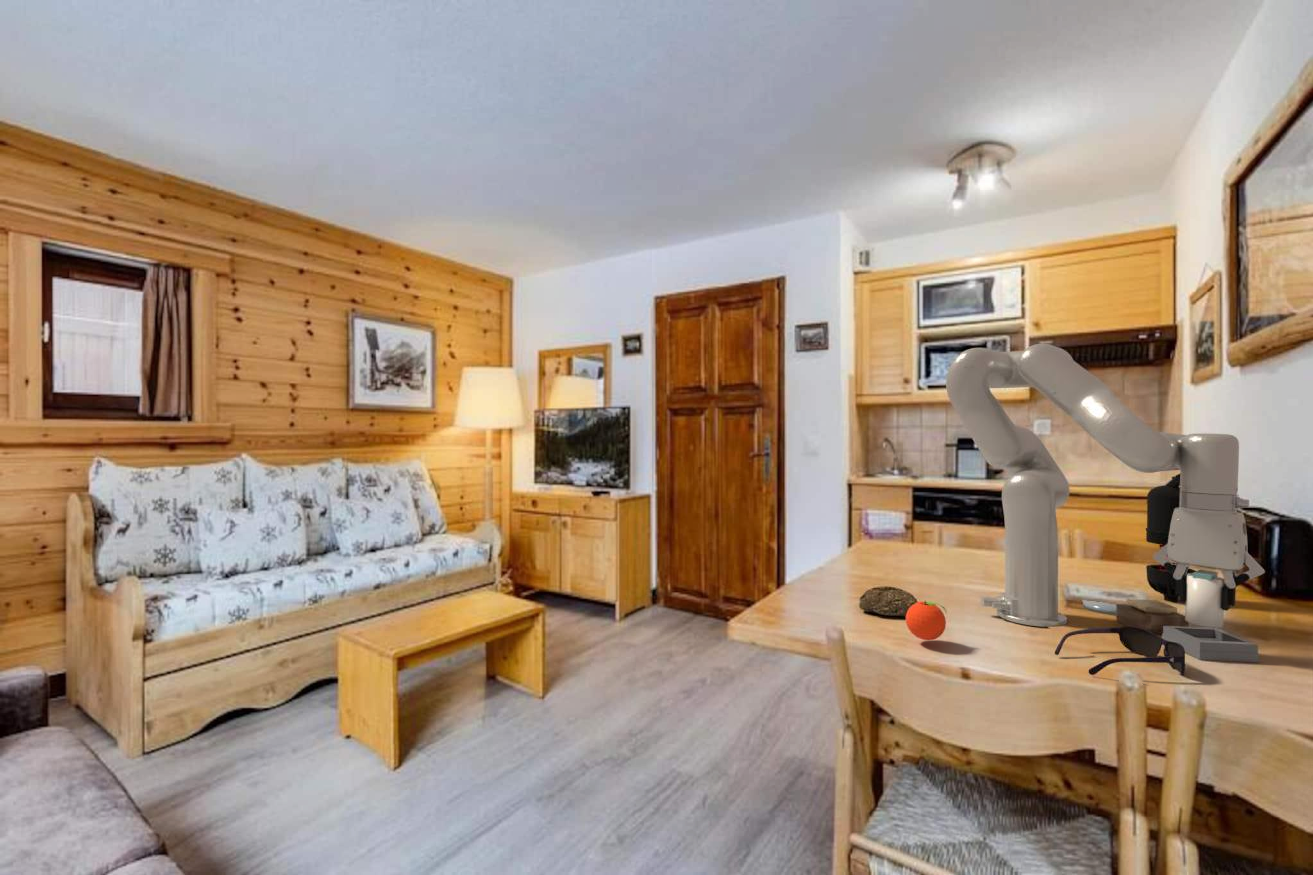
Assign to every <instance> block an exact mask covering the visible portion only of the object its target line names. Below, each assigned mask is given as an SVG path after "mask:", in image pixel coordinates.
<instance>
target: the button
mask: <svg viewBox="0 0 1313 875" xmlns="http://www.w3.org/2000/svg"><path fill="white" fill-rule="evenodd" d="M1126 602H1127V603H1128V604H1130V605H1132V608H1134V609H1137V610H1139V611H1141V612H1143V613H1146V614H1170V615H1171V612H1177V613H1178V608H1177V607H1175V606H1172V605H1170V604H1167V603H1165V602H1162V601H1160V600H1158V599H1155V600H1154V599H1134V598H1133V599H1132V598H1131V599H1129V598H1127V599H1126Z"/></svg>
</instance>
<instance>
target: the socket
mask: <svg viewBox="0 0 1313 875" xmlns="http://www.w3.org/2000/svg"><path fill="white" fill-rule="evenodd" d="M1161 638H1162V639H1164V640H1167V641H1171V642H1176V643H1179V644H1181V645H1182V646H1183V647H1184V650H1185V654H1187V655H1189V656H1191V657H1193V658H1194V659H1197V660H1199V661H1213V662H1214V661H1216V662H1238V663H1239V662H1240V663H1260V653H1259V645H1258V643H1255V642H1253V641H1250V640H1247V639H1245V638H1242V637H1240V636H1237V635H1235V634H1232V633H1229V632H1227V631H1224V630H1222V629H1221V628H1217V627H1206V626H1189V627H1180V626H1163V634H1161Z"/></svg>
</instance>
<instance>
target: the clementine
mask: <svg viewBox="0 0 1313 875" xmlns="http://www.w3.org/2000/svg"><path fill="white" fill-rule="evenodd" d="M937 605H938V606H940V607H941V608H943V609H944V611H945V613H946V614H948V612H947V609H946V608H945V606H943V605H940V604H939V603H937V602H933V601H926V600H924V601H917V603H915V604H914V605H912V606H911V607H910V608H909V609H908V611H907V614H906V617H905V625H906V626H907V628H908V629H907V630H909V631H910V633H911V634H912V635H914V636H915V637H916V638H918V639H920V640H924V641H933V640H935V639H938V638H939V637H941V635H943V634H944V632H945V630H946V627H947V626H946V625H947V621H946V617H945V614H944V612H943V611H942V610H941V609H940V608H939V607H938V606H937Z"/></svg>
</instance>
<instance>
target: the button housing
mask: <svg viewBox="0 0 1313 875" xmlns="http://www.w3.org/2000/svg"><path fill="white" fill-rule="evenodd" d="M1115 616H1116V618H1115V619H1116V622H1118V623H1121V625H1123V626H1134V627H1139V628H1142V629H1145V630H1148V631H1150V632H1152V633H1154V634H1155V635H1162V634H1163V626H1180V627H1190V626H1189V624H1190V622H1187V621H1186V620H1185V614H1181V613H1179V612H1178V611H1177V612H1171V615H1170V614H1146V613H1143V612H1141V611H1139V610H1137V609H1134V608H1132V605H1130V604H1116V615H1115Z"/></svg>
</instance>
